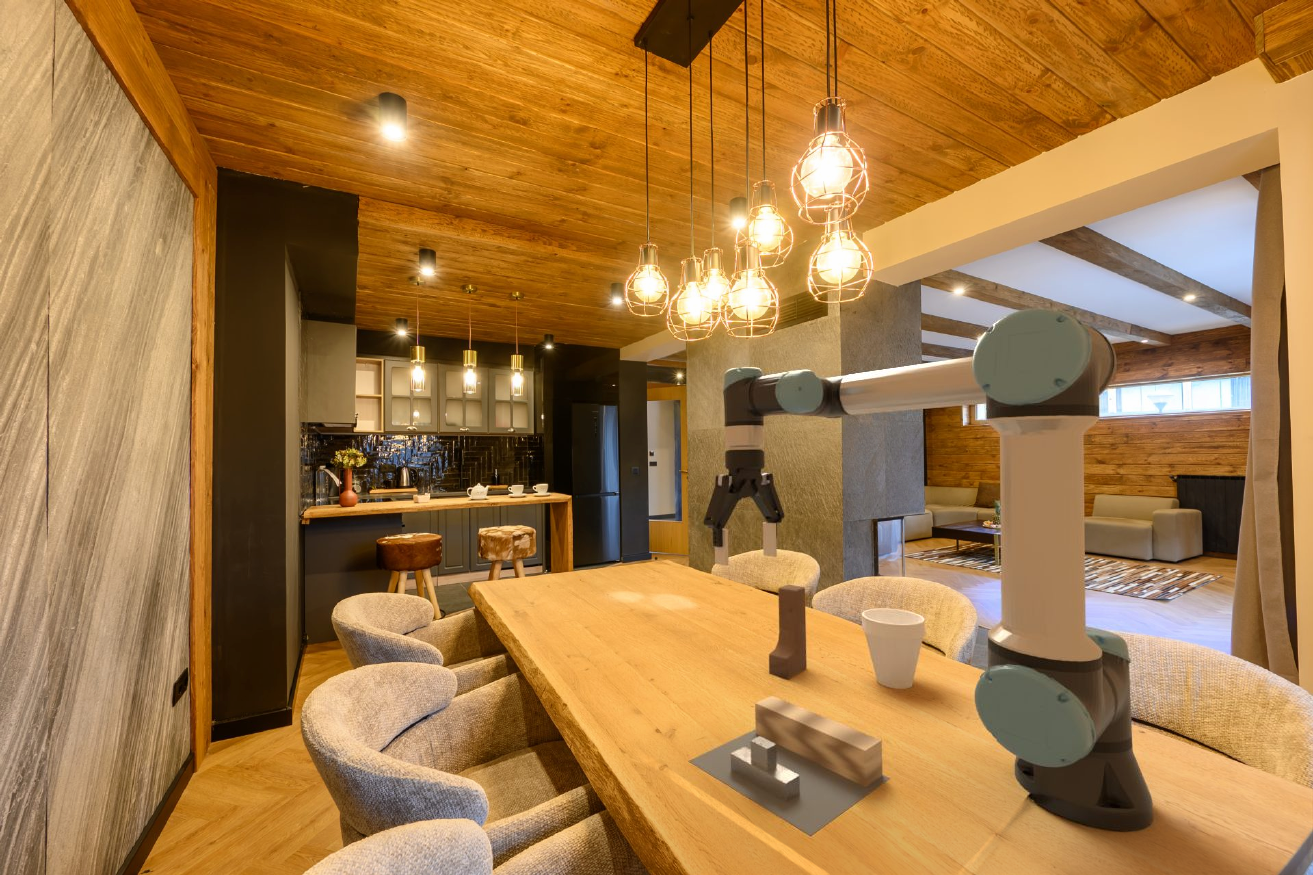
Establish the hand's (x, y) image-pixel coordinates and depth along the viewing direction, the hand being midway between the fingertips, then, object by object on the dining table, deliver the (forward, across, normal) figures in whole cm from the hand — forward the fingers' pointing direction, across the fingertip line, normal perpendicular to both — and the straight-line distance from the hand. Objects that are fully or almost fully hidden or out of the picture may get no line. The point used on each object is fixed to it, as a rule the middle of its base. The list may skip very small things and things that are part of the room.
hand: (746, 560), depth 106 cm
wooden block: (+28, -20, -6) cm, 35 cm away
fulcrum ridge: (+28, +18, +19) cm, 38 cm away
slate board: (+28, +13, +19) cm, 36 cm away
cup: (+28, -32, +12) cm, 44 cm away
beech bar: (+27, +6, +19) cm, 33 cm away
